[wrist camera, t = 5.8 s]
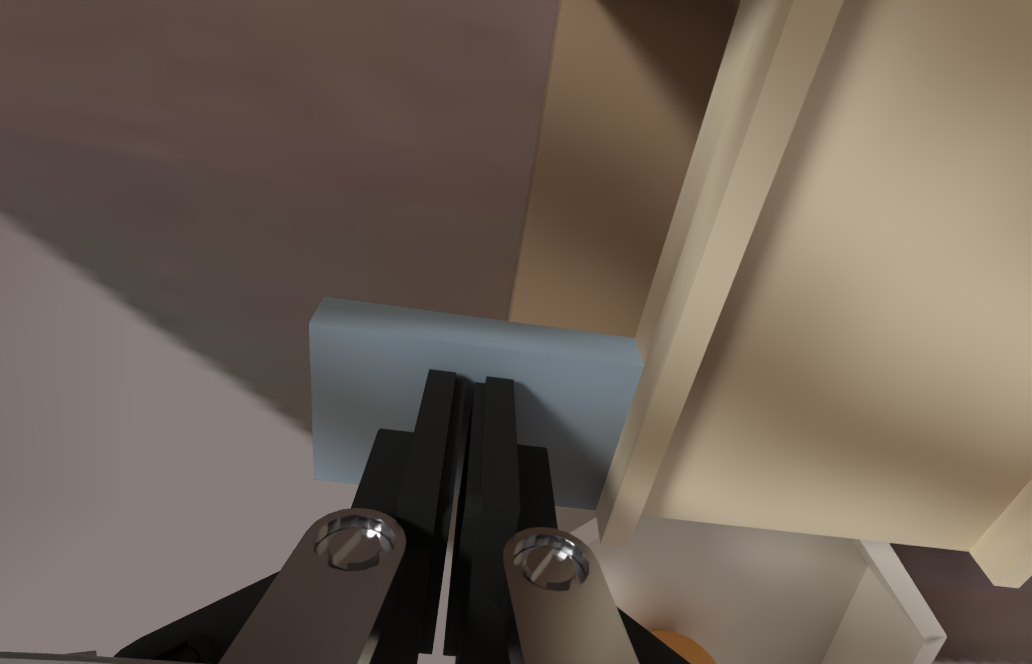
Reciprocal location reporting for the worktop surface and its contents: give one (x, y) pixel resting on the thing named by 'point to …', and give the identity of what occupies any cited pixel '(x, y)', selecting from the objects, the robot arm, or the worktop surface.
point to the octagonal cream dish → (765, 592)
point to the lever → (784, 305)
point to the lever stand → (613, 155)
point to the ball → (684, 647)
